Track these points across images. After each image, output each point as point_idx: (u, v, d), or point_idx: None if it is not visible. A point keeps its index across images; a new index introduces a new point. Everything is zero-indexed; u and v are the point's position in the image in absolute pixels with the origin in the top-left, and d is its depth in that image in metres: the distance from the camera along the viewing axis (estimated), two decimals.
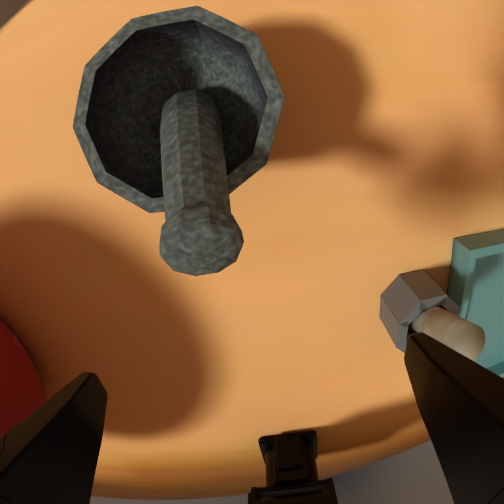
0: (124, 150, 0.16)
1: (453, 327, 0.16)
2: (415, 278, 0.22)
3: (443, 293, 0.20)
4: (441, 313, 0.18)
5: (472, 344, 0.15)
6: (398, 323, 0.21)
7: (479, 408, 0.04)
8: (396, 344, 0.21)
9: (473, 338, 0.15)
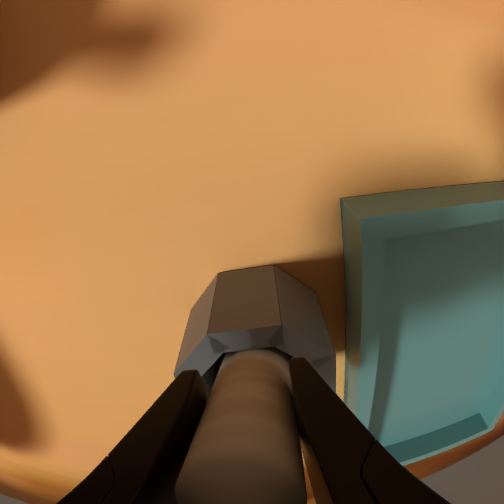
0: None
1: (200, 435, 0.06)
2: (241, 282, 0.12)
3: (276, 321, 0.09)
4: (237, 374, 0.08)
5: (247, 503, 0.04)
6: (174, 373, 0.10)
7: (317, 456, 0.05)
8: None
9: (245, 491, 0.04)
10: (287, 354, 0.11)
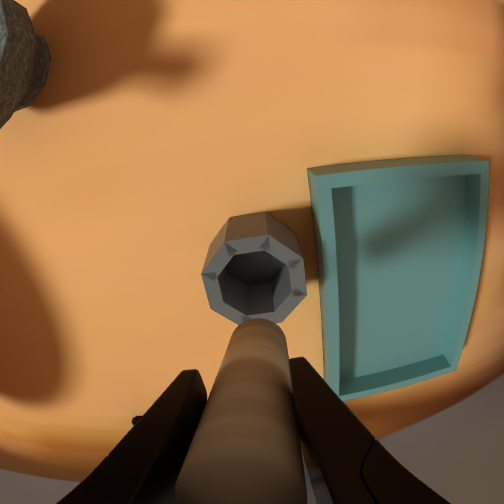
0: None
1: (200, 434, 0.06)
2: (244, 220, 0.19)
3: (265, 233, 0.16)
4: (238, 373, 0.08)
5: (247, 502, 0.04)
6: (201, 273, 0.17)
7: (317, 456, 0.05)
8: (210, 304, 0.18)
9: (245, 490, 0.04)
10: (287, 354, 0.11)
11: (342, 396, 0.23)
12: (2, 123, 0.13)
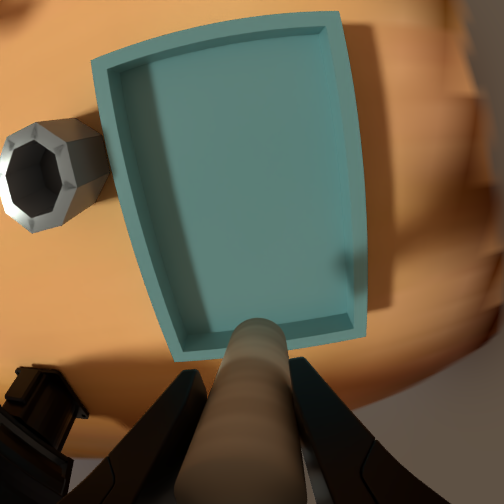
0: None
1: (200, 434, 0.05)
2: None
3: None
4: (237, 372, 0.08)
5: (246, 502, 0.04)
6: None
7: (317, 456, 0.05)
8: (5, 208, 0.13)
9: (245, 490, 0.04)
10: (287, 353, 0.11)
11: (187, 352, 0.19)
12: None
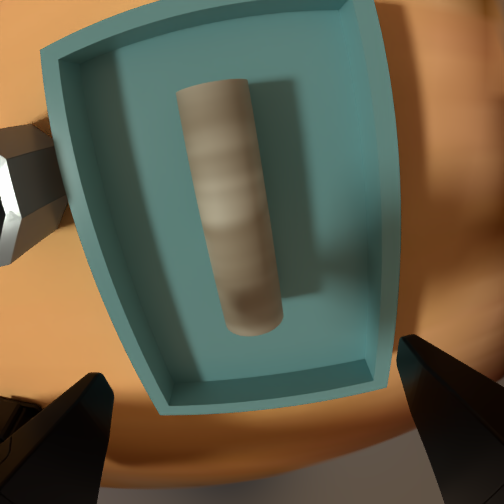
0: None
1: None
2: None
3: None
4: None
5: None
6: None
7: (469, 412, 0.04)
8: None
9: None
10: None
11: (174, 407, 0.15)
12: None
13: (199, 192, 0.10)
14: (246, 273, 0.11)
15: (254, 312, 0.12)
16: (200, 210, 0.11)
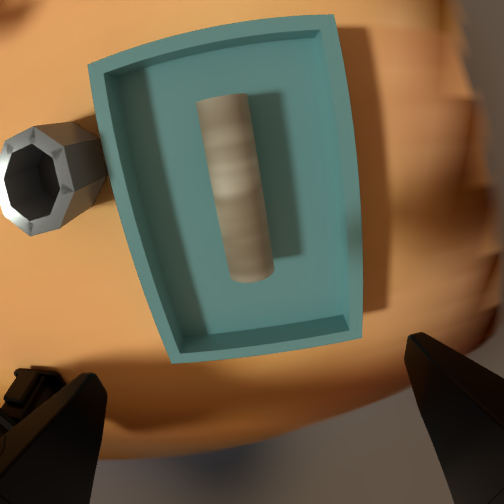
0: None
1: None
2: None
3: None
4: None
5: None
6: None
7: (479, 408, 0.04)
8: (3, 211, 0.14)
9: None
10: None
11: (184, 354, 0.19)
12: None
13: (213, 173, 0.14)
14: (247, 231, 0.15)
15: (253, 262, 0.16)
16: (213, 186, 0.15)
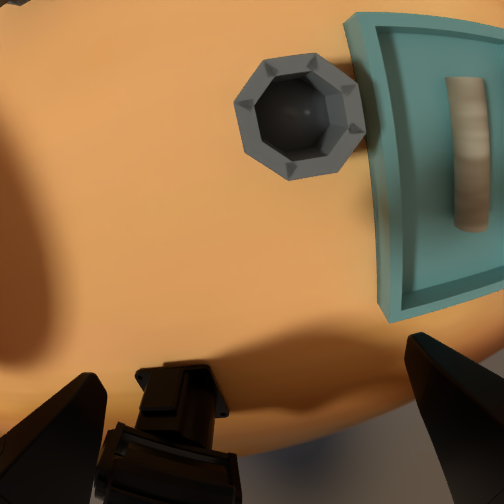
0: None
1: (448, 95, 0.14)
2: None
3: None
4: None
5: None
6: (234, 103, 0.12)
7: (479, 408, 0.04)
8: (244, 147, 0.13)
9: None
10: None
11: (404, 311, 0.18)
12: None
13: (469, 137, 0.13)
14: (487, 187, 0.14)
15: (485, 214, 0.15)
16: (466, 148, 0.14)
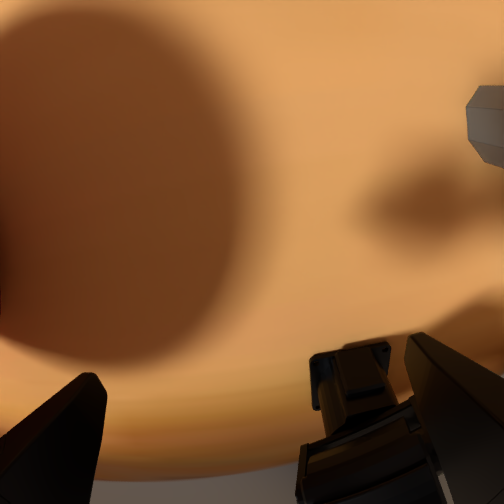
0: None
1: None
2: None
3: None
4: None
5: None
6: (503, 110, 0.12)
7: (479, 408, 0.04)
8: None
9: None
10: None
11: None
12: None
13: None
14: None
15: None
16: None
